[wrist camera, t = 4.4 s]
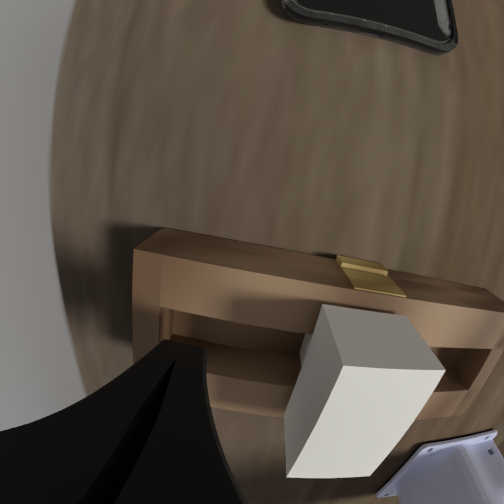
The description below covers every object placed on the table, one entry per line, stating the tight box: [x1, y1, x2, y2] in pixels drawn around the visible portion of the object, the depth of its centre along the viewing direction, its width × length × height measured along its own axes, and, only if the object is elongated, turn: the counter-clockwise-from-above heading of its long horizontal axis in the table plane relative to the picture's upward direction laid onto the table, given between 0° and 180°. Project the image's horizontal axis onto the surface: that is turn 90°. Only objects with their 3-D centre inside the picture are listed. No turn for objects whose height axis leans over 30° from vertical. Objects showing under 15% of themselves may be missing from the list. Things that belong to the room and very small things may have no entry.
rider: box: [284, 304, 446, 478], centre depth 9 cm, size 3×5×5 cm, turn 170°
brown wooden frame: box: [132, 227, 504, 420], centre depth 11 cm, size 16×6×3 cm, turn 80°
